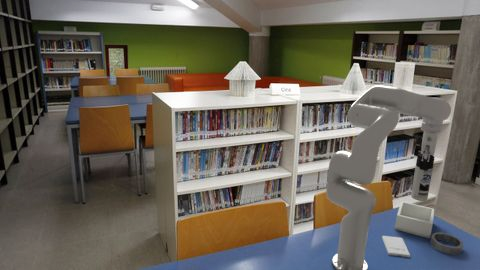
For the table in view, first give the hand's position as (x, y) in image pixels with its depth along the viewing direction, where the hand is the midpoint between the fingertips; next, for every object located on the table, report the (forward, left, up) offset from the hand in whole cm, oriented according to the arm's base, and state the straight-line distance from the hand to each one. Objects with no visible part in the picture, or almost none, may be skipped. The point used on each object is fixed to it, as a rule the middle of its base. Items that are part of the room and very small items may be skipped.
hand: (424, 166), depth 153 cm
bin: (0, 0, -29) cm, 29 cm away
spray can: (0, 0, -15) cm, 15 cm away
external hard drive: (-23, +5, -29) cm, 37 cm away
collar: (-11, -13, -29) cm, 33 cm away
